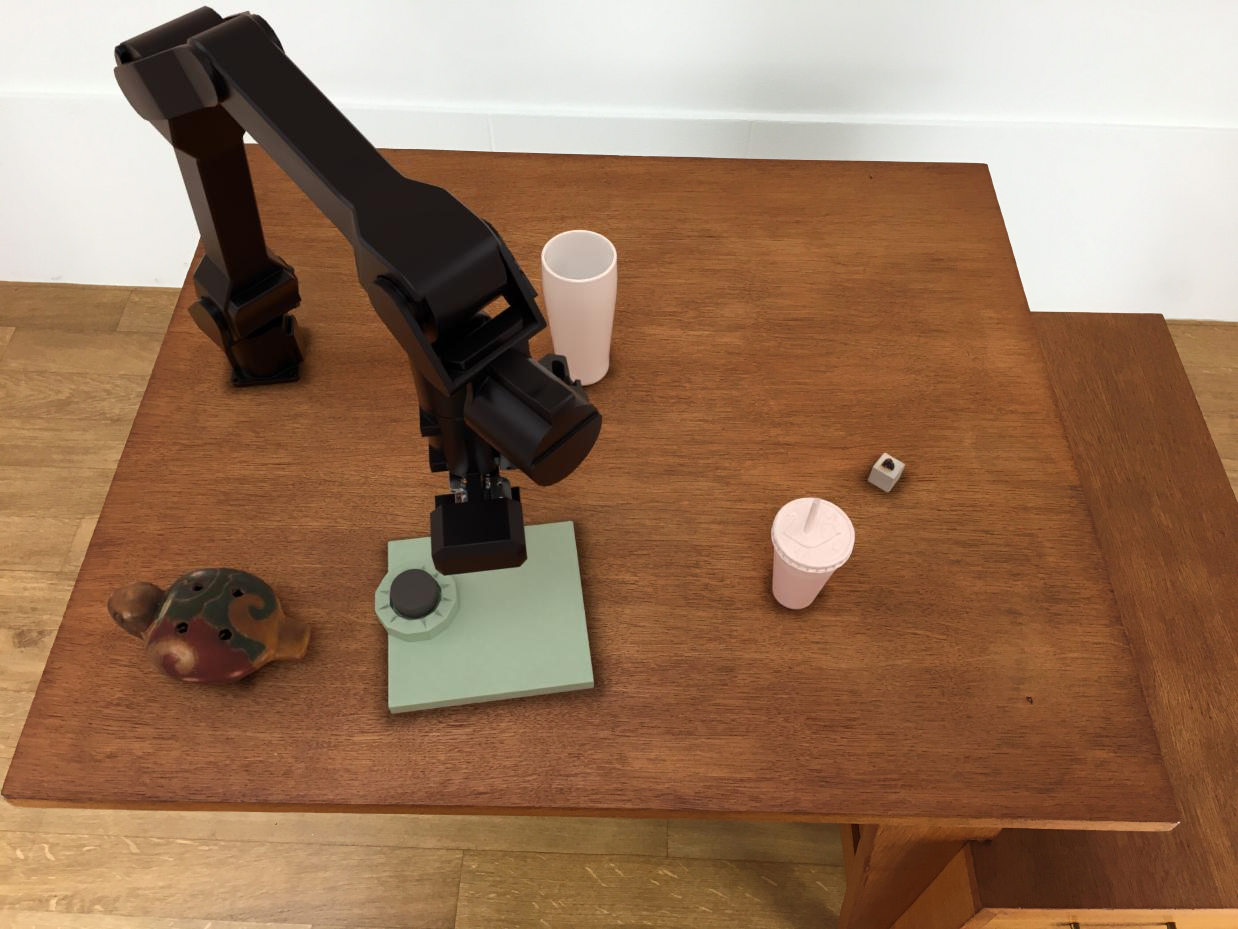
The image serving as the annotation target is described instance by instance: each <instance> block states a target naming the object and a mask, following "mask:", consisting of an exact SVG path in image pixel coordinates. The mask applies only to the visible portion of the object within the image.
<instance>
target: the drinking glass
mask: <svg viewBox="0 0 1238 929" xmlns="http://www.w3.org/2000/svg"><path fill="white" fill-rule="evenodd" d="M540 257H541V258H540V260H541V264H540V265H541V266H540V268H541V269H540V272H541V285H542V293H543V300H544V306H545V310H546V315H547V321H548V324H549V325H548V326H549V331H550V336H551V342H552V348H553V354H557V355H564V356H565V357H566V359H567V363H568V367H569V372H570V378H571V380H572V381H573V382H574V381H575V379H579V380H581V385H582V387H583V386H591V385H594V384H596V383H599V381H600V380H602V379H603V378H605V376H606V375H607V373H608V371H609V367H610V351H611V342H612V334H613V329H614V328H613V327H614V319H615V311H616V306H617V305H616V304H617V296H618V295H617V294H618V284H619V283H618V281H619V280H618V279H619V278H618V276H619V274H618V253H617V249H616V247H615V246H614V244H613V243H612V242H611V241H610V240H609V238H607V237H606V236H604V235H603V234H600V233H598V232H595V231H592V230H585V229H575V230H573V229H572V230H568V231H563V232H561V233H558V234H557V235H555V236H553V237H551V238H550V239H549V240H548V241H547V242H546V243H545V245H544V246H543V248H542V250H541V255H540Z"/></svg>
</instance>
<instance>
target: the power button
mask: <svg viewBox="0 0 1238 929" xmlns="http://www.w3.org/2000/svg"><path fill="white" fill-rule="evenodd" d="M390 595H391V598H392V601H393V603H394V606H395V608H396V610H397V611H398V612H399V613H400V614H401V615H403V616H405V617H408V618H419V617H422V616H425V615H427V614H428V613H430V612H431V611H432V610H433V609H434V607H435V606H436V604H437V601H438V591H437V587H436V584H435V581H434V579H433V577H432V576H431V575H430V574H429V573H428V572H426V571H424V570H421V569H409V570H406V571H404V572H402V573H400V574H399V575H398V576H397V577H396V578H395V579H394V580H393V582H392V584H391V587H390Z"/></svg>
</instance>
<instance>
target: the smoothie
mask: <svg viewBox="0 0 1238 929" xmlns="http://www.w3.org/2000/svg"><path fill="white" fill-rule="evenodd" d="M770 534H771V535H770V536H771V542H772V545H773V564H772V566H773V567H772V584H771V585H772V586H771V589H772V590H771V591H772V594H773V596H774V598H775V600H776V601H777V602H778V603H779V604H780V605H782V606H783V607H786V608H788V609H792V610H801V609H804V608H807V607H809V606H810V605H811V604H812V603H813V602H814V600H815V599H816V597H817V596H818V594H819V593H820V592H821V591H822V590H823V588H824V586H825V585H826V583H827V582H828V581H829V579H830V578H831V577H832V575H833V574H834V572H835V571H836V570H837V569H839V568H841V567H842V566H843V565H844V564H845V563H846V562H847V561H848V560H849V558H850V556H851V554H852V552H853V549H854V545H855V540H856V534H855V528H854V525H853V523H852V521H851V519H850V518H849V515H847V514H846V512H844V511H843V509H841V508H840V507H839V506H837V505H836V504H834V503H832V502H831V501H828V500H826V499H823V498H819V497H802V498H796V499H793V500H791V501H789V502H788V503H786V504H784V505H783V506H782V507H781V508H780V509H779V511H777V513H776V515H775V517H774V520H773V522H772V525H771V529H770Z"/></svg>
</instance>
